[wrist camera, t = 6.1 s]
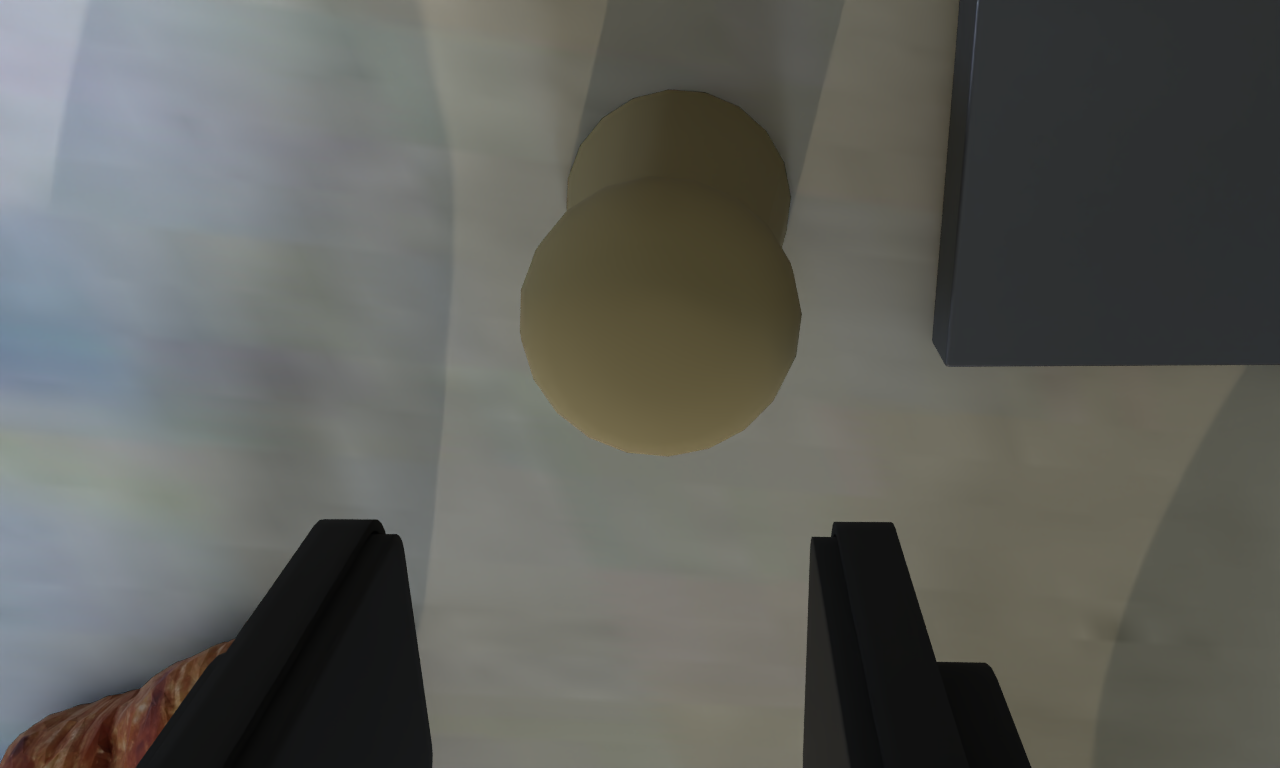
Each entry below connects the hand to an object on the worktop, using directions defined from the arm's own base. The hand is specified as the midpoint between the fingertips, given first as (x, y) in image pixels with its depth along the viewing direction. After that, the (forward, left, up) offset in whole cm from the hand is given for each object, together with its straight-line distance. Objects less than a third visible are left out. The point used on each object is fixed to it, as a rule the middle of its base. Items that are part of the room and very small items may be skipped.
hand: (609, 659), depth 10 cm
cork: (0, 0, -19) cm, 19 cm away
